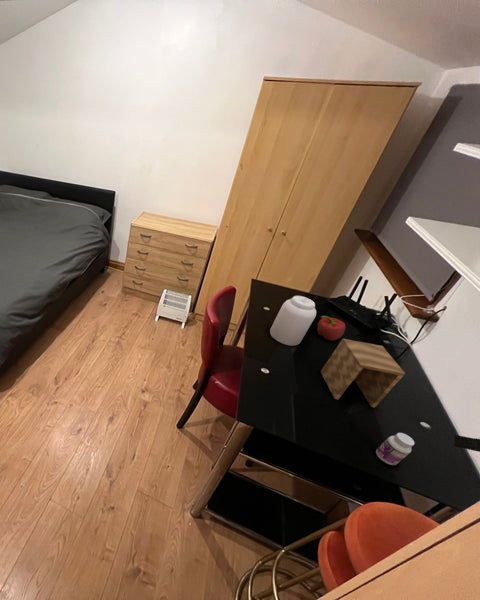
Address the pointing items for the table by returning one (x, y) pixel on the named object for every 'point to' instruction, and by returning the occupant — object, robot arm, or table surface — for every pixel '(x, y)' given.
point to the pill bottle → (395, 448)
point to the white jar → (293, 320)
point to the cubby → (361, 370)
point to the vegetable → (330, 328)
